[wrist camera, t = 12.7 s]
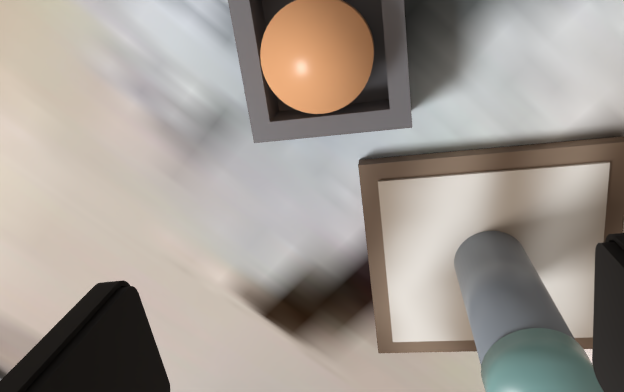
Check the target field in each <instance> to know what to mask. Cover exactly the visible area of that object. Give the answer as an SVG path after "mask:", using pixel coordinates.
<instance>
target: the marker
mask: <svg viewBox="0 0 624 392" xmlns="http://www.w3.org/2000/svg"><path fill="white" fill-rule="evenodd" d="M454 268H455V271H456V275H457V279H458V282H459V286H460V290H461V293H462V297H463V301H464V304H465V308H466V312H467V315H468V319H469V323H470V326H471V330H472V334H473V338H474V341H475V345H476V349H477V352H478V356H479V360H480V363H481V376H482V380H483V384H484V388H485V391H486V392H604V391H603V390H602V388H601V386H600V384H599V383H598V380H597V378H596V376H595V373H594V369H593V365H592V363H591V361H590V360H589V358H588V356H587V354H586V353H585V351H584V349H583V348H582V346H581V345H580V344H579V343H578V342H577V341H576V340H575V338H574V337H573V335H572V333H571V331H570V330H569V328H568V326H567V324H566V322H565V321H564V319H563V317H562V315H561V314H560V312H559V310H558V308H557V307H556V305H555V303H554V301H553V299H552V298H551V296H550V294H549V292H548V291H547V289H546V287H545V285H544V284H543V282H542V280H541V278H540V276H539V275H538V273H537V271H536V269H535V268H534V266H533V264H532V262H531V261H530V259H529V257H528V255H527V253H526V252H525V250H524V248H523V246H522V245H521V243H520V242H519V241H518V240H517V239H516V238H514V237H513V236H511V235H509V234H507V233H504V232H500V231H484V232H480V233H477V234H474V235H472V236H471V237H469V238H467V239H466V240H465V241H464V242H463V243H462V244H461V245H460V247H459V248H458V250H457V252H456V254H455V258H454Z"/></svg>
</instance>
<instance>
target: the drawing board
mask: <svg viewBox="0 0 624 392" xmlns="http://www.w3.org/2000/svg"><path fill="white" fill-rule="evenodd" d="M358 166H359V176H360V185H361V194H362V204H363V213H364V222H365V231H366V241H367V250H368V259H369V269H370V278H371V287H372V297H373V306H374V315H375V325H376V334H377V343H378V353H410V352H459V351H477V349H476V345H475V341H474V338H473V334H472V330H471V326H470V323H469V319H468V315H467V312H466V308H465V304H464V301H463V297H462V293H461V290H460V286H459V282H458V279H457V275H456V271H455V268H454V258H455V254H456V252H457V250H458V248H459V247H460V245H461V244H462V243H463V242H464V241H465V240H466V239H467V238H469V237H471V236H472V235H474V234H477V233H480V232H484V231H500V232H504V233H507V234H509V235H511V236H513V237H514V238H516V239H517V240H518V241H519V242H520V243H521V245H522V246H523V248H524V250H525V252H526V253H527V255H528V257H529V259H530V261H531V262H532V264H533V266H534V268H535V269H536V271H537V273H538V275H539V276H540V278H541V280H542V282H543V284H544V285H545V287H546V289H547V291H548V292H549V294H550V296H551V298H552V299H553V301H554V303H555V305H556V307H557V308H558V310H559V312H560V314H561V315H562V317H563V319H564V321H565V322H566V324H567V326H568V328H569V330H570V331H571V333H572V335H573V337H574V338H575V340H576V341H577V342H578V343H579V344H580V345H581V346H582V348H583V349H593V315H594V276H595V248H596V245H597V244H598V243H604V242H605V240H606V237H607V236H608V235H609V234H617V233H622V230H623V220H624V137H623V136H621V137H610V138H599V139H587V140H576V141H565V142H554V143H543V144H531V145H520V146H509V147H498V148H486V149H475V150H464V151H453V152H442V153H430V154H419V155H408V156H397V157H386V158H374V159H363V160H359V165H358Z"/></svg>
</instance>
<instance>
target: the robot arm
mask: <svg viewBox="0 0 624 392" xmlns="http://www.w3.org/2000/svg"><path fill="white" fill-rule="evenodd" d="M592 361H593V369H594V373H595V376H596V378H597V380H598V383H599V384H600V386H601V388H602V390H603V391H604V392H624V233H617V234H609V235H608V236H607V237H606V240H605V242H604V243H598V244H597V245H596V248H595V276H594V315H593V355H592ZM0 392H170V383H169V380H168V377H167V374H166V371H165V368H164V365H163V363H162V360H161V357H160V354H159V351H158V348H157V345H156V342H155V340H154V337H153V334H152V331H151V328H150V325H149V322H148V319H147V317H146V314H145V311H144V308H143V305H142V302H141V299H140V296H139V293H138V291H137V289H136V288H135V287H133V286H130V285H129V284H128V283H127V282H126V281H115V282H104V283H98V284H97V285H95V286H94V287H93V288H92V289H91V290H90V291H89V292H88V293H87V294H86V295H85V296H84V297H83V298H82V299H81V300H80V301H79V302H78V303H77V304H76V305H75V306H74V307H73V308H72V309H71V310H70V311H69V312H68V313H67V314H66V315H65V316H64V317H63V318H62V319H61V320H60V321H59V322H58V323H57V324H56V325H55V326H54V327H53V328H52V329H51V330H50V331H49V332H48V333H47V334H46V335H45V336H44V337H43V338H42V339H41V340H40V342H39V343H38V344H37V345H36V346H35V347H34V348H33V349H32V350H31V351H30V352H29V353H28V354H27V355H26V356H25V357H24V358H23V359H22V360H21V361H20V362H19V363H18V364H17V365H16V366H15V367H14V368H13V369H12V370H11V371H10V372H9V373H8V374H7V375H6V376H5V377H4V378H3V379H2V380H1V381H0Z"/></svg>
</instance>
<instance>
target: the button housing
mask: <svg viewBox="0 0 624 392" xmlns="http://www.w3.org/2000/svg"><path fill="white" fill-rule="evenodd" d="M293 1H296V0H228V3H229V8H230V14H231V19H232V25H233V30H234V36H235V41H236V46H237V52H238V57H239V63H240V68H241V74H242V79H243V85H244V90H245V96H246V101H247V106H248V112H249V117H250V123H251V128H252V134H253V139H254V143H260V142H270V141H280V140H290V139H300V138H310V137H321V136H331V135H341V134H351V133H361V132H371V131H381V130H391V129H402V128H412V117H411V101H410V86H409V70H408V55H407V39H406V24H405V8H404V0H343V1H345V2H347V3H349V4H350V5H352V6H353V7H354V8H355V9H357V10H358V11H359V12H360V13H361V15H362V16H363V17H364V18H365V20H366V22H367V23H368V25H369V28H370V30H371V33H372V36H373V41H374V60H373V65H372V70H371V74H370V77H369V79H368V82H367V83H366V85H365V87H364V89H363V90H362V91H361V93H360V94H359V95H358V96H357V97H356V98H355V99H354V100H353V101H352V102H351V103H349V104H348V105H346V106H345V107H343V108H341V109H339V110H336V111H333V112H330V113H324V114H311V113H305V112H301V111H299V110H296V109H294V108H292V107H290V106H288V105H287V104H285V103H284V102H283V101H281V100H280V99H279V98H278V97H277V96H276V95H275V93H274V92H273V91H272V90H271V88H270V87H269V85H268V83H267V81H266V79H265V76H264V74H263V70H262V66H261V58H260V50H261V43H262V39H263V35H264V33H265V30H266V28H267V26H268V24H269V23H270V21H271V20H272V18H273V17H274V16H275V15H276V14H277V13H278V12H279V11H280V10H281V9H282V8H283V7H285V6H286V5H288V4H289V3H291V2H293Z"/></svg>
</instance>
